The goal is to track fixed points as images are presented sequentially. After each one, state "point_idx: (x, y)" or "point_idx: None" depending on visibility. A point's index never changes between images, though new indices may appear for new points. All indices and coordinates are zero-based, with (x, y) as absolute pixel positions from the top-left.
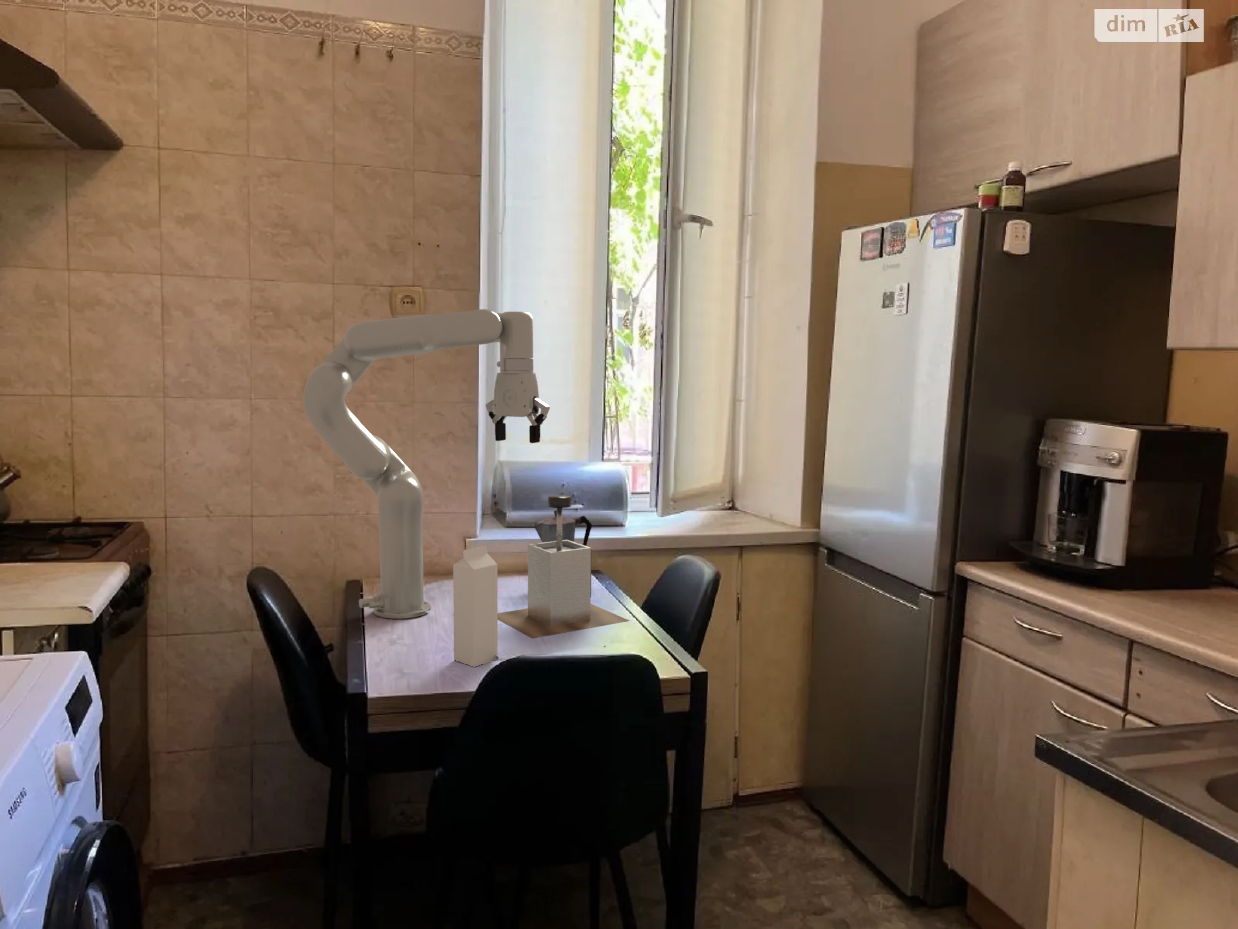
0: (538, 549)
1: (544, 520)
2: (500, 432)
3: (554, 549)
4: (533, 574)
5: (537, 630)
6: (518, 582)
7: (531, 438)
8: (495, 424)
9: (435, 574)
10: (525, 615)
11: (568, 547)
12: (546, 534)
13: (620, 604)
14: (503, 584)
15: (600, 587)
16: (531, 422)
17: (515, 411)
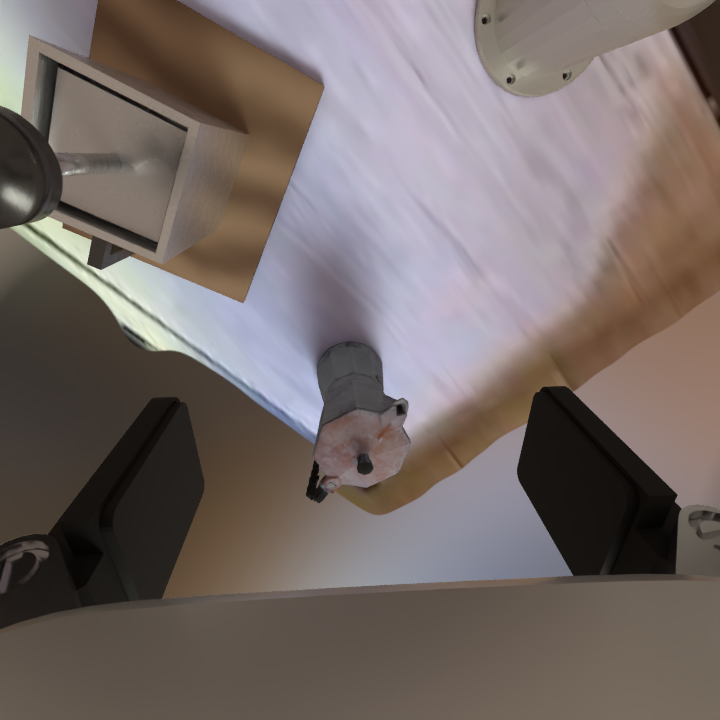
0: (126, 85)
1: (389, 433)
2: (562, 463)
3: (145, 180)
4: (192, 112)
5: (145, 31)
6: (442, 362)
7: (139, 416)
8: (663, 486)
9: (623, 323)
10: (253, 130)
11: (138, 231)
12: (365, 398)
13: (190, 341)
14: (460, 336)
15: (294, 410)
16: (50, 572)
17: (223, 708)
